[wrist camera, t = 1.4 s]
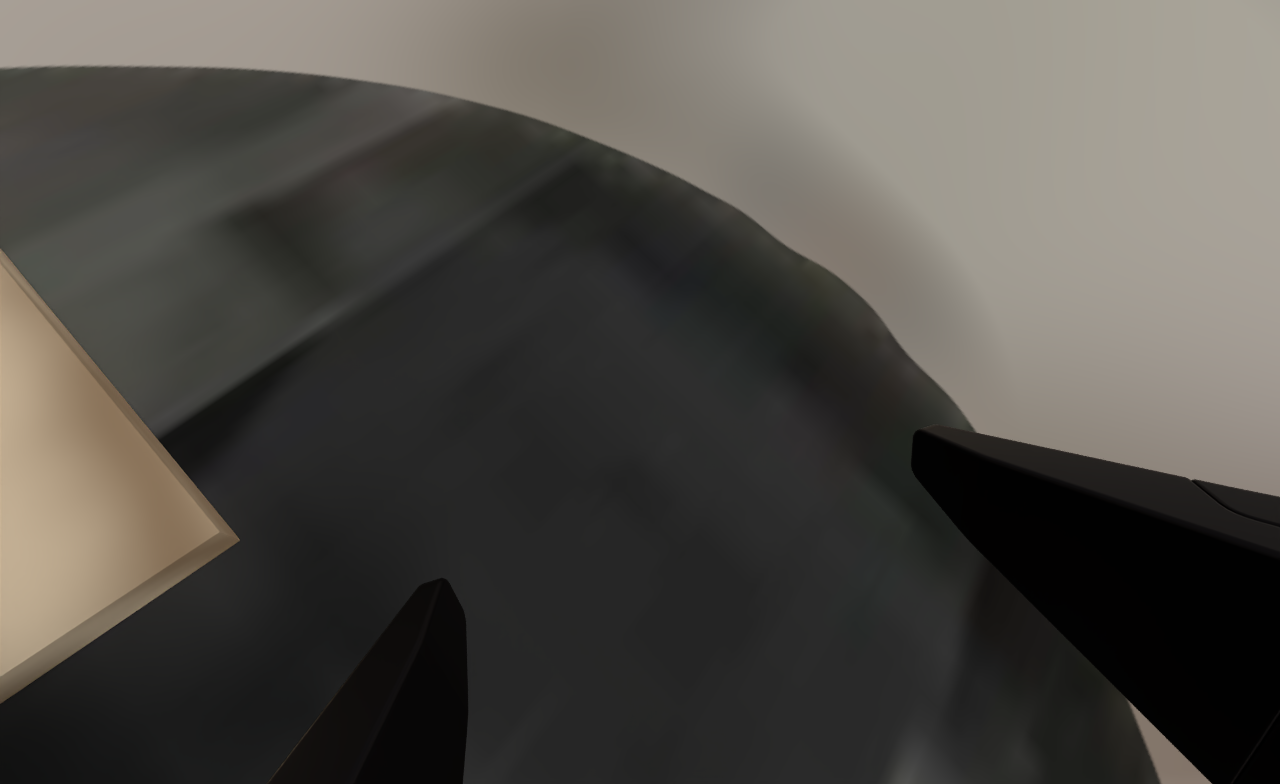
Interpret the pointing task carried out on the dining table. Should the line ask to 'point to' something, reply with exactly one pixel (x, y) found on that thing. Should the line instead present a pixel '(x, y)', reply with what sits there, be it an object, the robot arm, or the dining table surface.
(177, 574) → the gear board
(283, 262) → the dining table surface
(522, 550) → the dining table surface
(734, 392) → the dining table surface
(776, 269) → the dining table surface
